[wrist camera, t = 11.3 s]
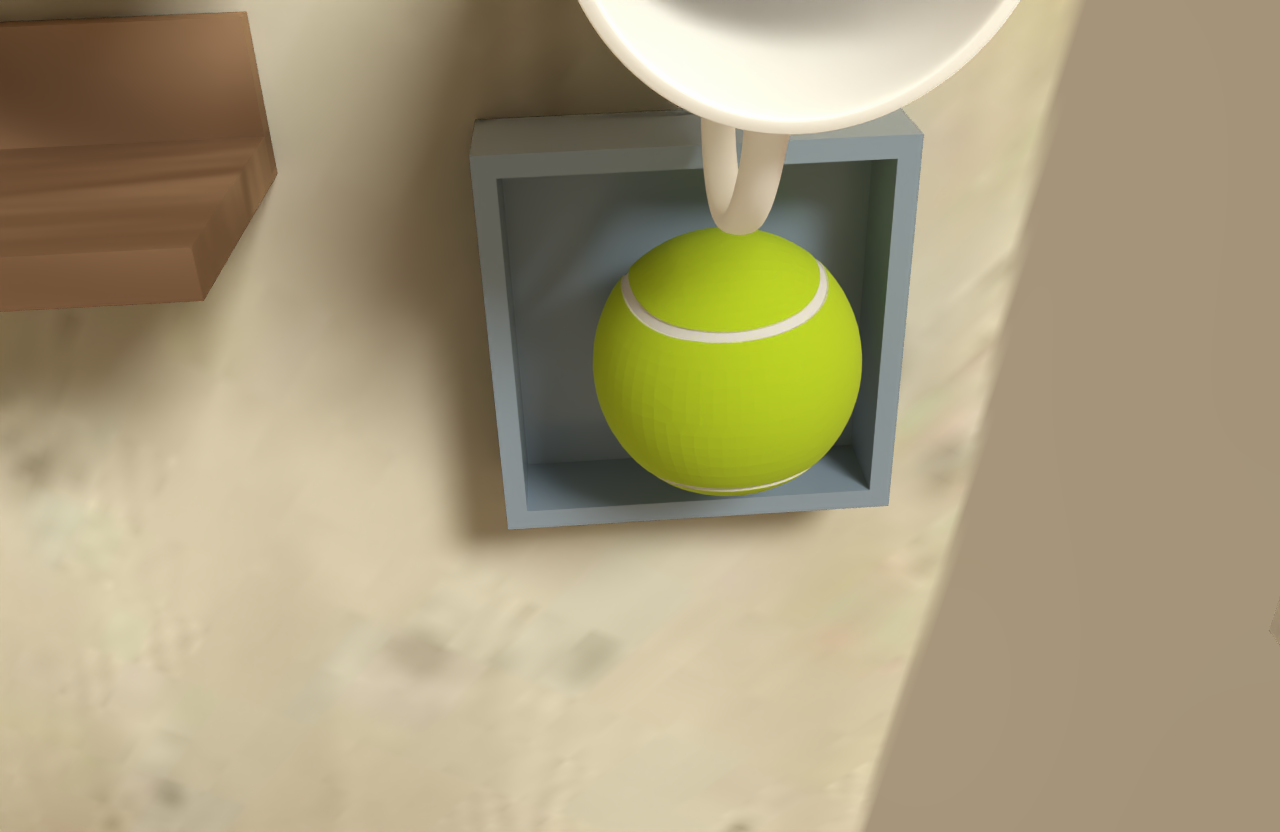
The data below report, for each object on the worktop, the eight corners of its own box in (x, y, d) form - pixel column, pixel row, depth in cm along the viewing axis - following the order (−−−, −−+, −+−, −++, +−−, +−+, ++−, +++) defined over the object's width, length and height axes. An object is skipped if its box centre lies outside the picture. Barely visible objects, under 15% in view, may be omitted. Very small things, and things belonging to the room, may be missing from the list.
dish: (475, 119, 32) (468, 156, 29) (893, 99, 32) (924, 133, 29) (510, 473, 37) (508, 529, 35) (865, 451, 38) (888, 505, 35)
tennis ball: (829, 397, 36) (886, 535, 30) (599, 419, 36) (610, 562, 30) (832, 176, 32) (897, 283, 26) (577, 199, 32) (584, 311, 26)
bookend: (-82, 25, 29) (-273, 122, 23) (246, 11, 30) (156, 102, 23) (-28, 188, 32) (-188, 321, 25) (277, 173, 32) (203, 300, 25)
